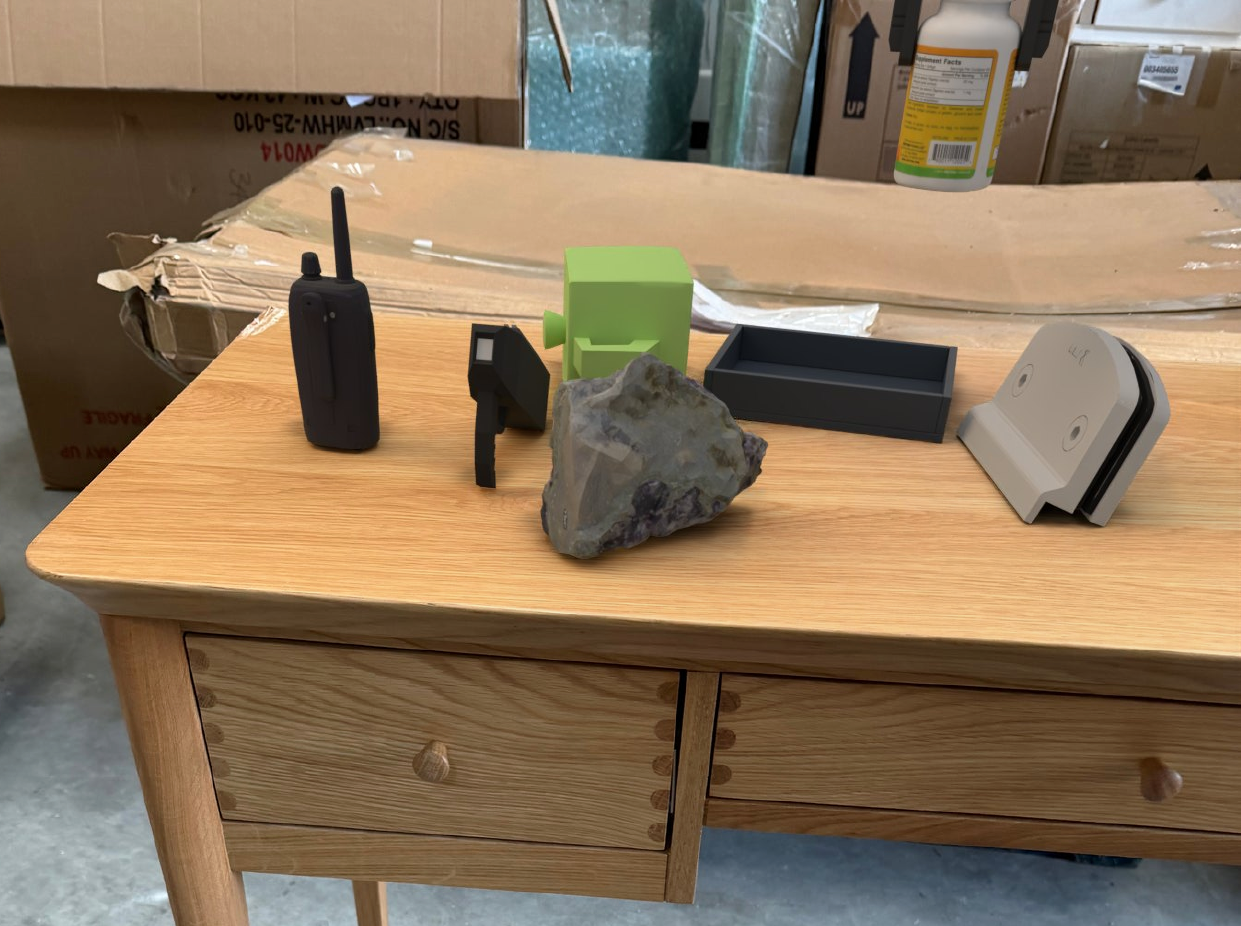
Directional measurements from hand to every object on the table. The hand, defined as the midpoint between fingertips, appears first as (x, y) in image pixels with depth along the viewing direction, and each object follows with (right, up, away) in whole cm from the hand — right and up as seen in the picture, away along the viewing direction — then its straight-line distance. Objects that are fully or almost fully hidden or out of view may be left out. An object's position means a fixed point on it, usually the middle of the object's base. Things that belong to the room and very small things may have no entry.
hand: (962, 65), depth 62 cm
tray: (-1, -7, +26) cm, 27 cm away
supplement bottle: (0, -4, +4) cm, 6 cm away
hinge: (+10, -17, +15) cm, 25 cm away
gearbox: (-18, -7, +26) cm, 32 cm away
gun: (-25, -15, +16) cm, 33 cm away
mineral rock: (-16, -23, +6) cm, 29 cm away
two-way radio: (-36, -15, +16) cm, 42 cm away
